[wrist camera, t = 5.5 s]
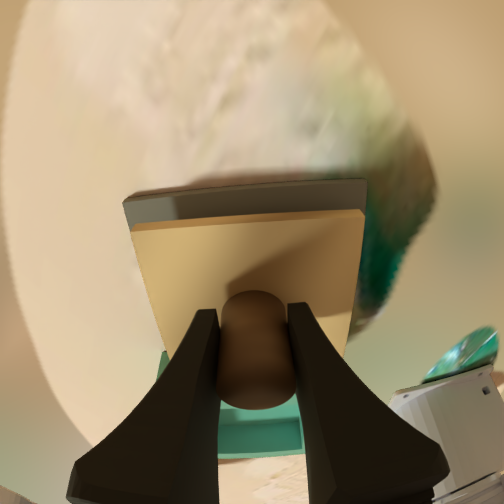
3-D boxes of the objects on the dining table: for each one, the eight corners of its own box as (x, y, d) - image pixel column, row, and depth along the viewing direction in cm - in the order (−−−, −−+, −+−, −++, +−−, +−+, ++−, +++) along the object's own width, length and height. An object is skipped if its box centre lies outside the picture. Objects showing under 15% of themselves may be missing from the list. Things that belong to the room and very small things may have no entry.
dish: (320, 343, 16) (330, 390, 14) (310, 416, 21) (315, 452, 18) (162, 352, 16) (152, 398, 14) (194, 422, 21) (191, 458, 18)
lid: (359, 209, 10) (408, 278, 7) (338, 358, 14) (356, 430, 11) (135, 223, 11) (90, 297, 7) (178, 368, 14) (166, 440, 11)
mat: (364, 178, 11) (367, 182, 11) (346, 329, 16) (347, 335, 15) (125, 198, 12) (122, 202, 11) (170, 342, 16) (169, 348, 16)
